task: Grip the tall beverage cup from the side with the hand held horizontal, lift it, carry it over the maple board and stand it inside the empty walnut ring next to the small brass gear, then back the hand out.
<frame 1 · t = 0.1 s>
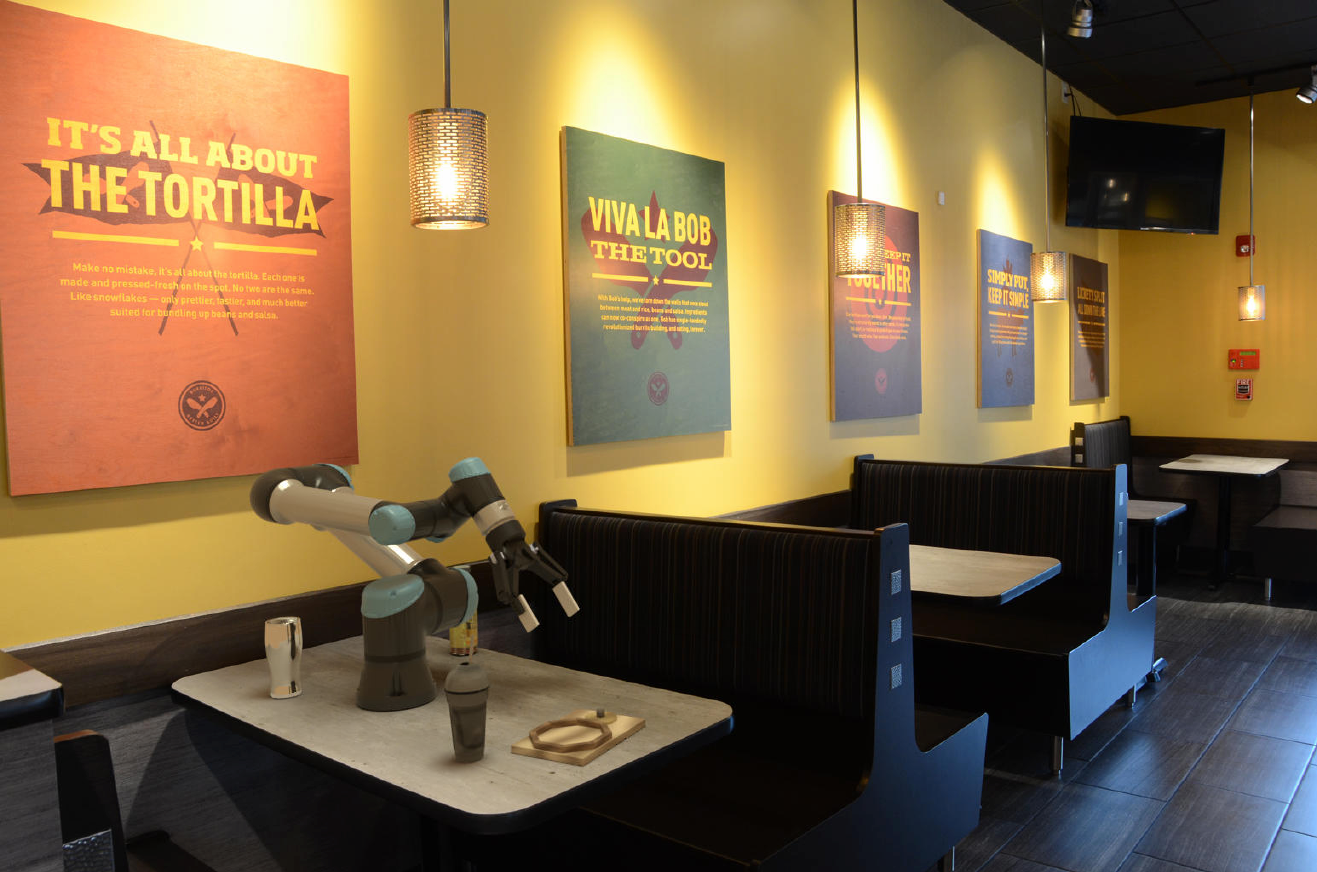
hand: (554, 620, 186), 15 cm above the table, tool tilted 35°, fingers open, 13 cm apart
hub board: (580, 738, 164), on the table
beer glass: (286, 695, 194), on the table
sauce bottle: (464, 653, 222), on the table
beverage cup: (469, 758, 157), on the table
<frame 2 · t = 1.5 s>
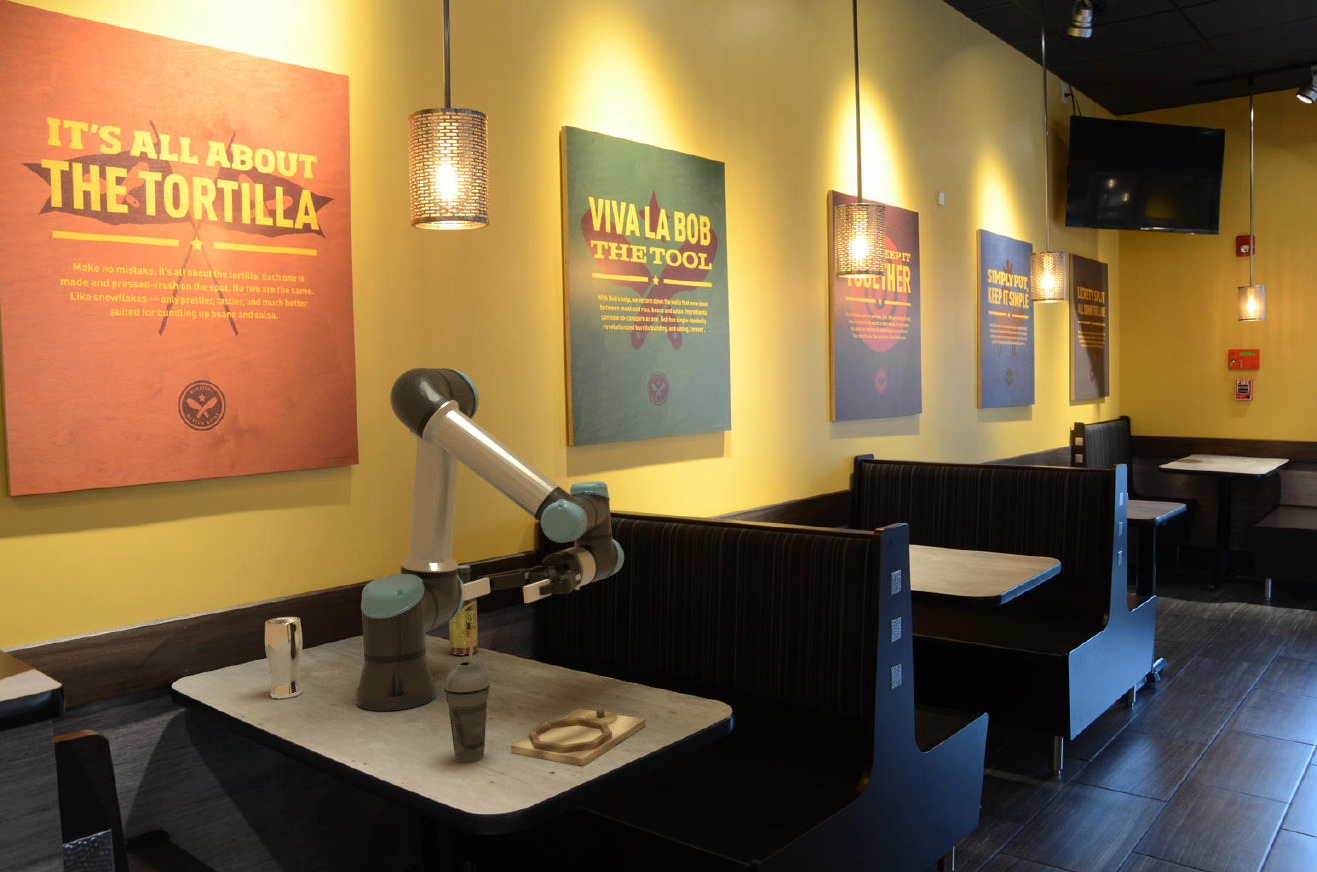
hand: (493, 593, 165), 25 cm above the table, tool horizontal, fingers open, 13 cm apart
nothing on the table moved.
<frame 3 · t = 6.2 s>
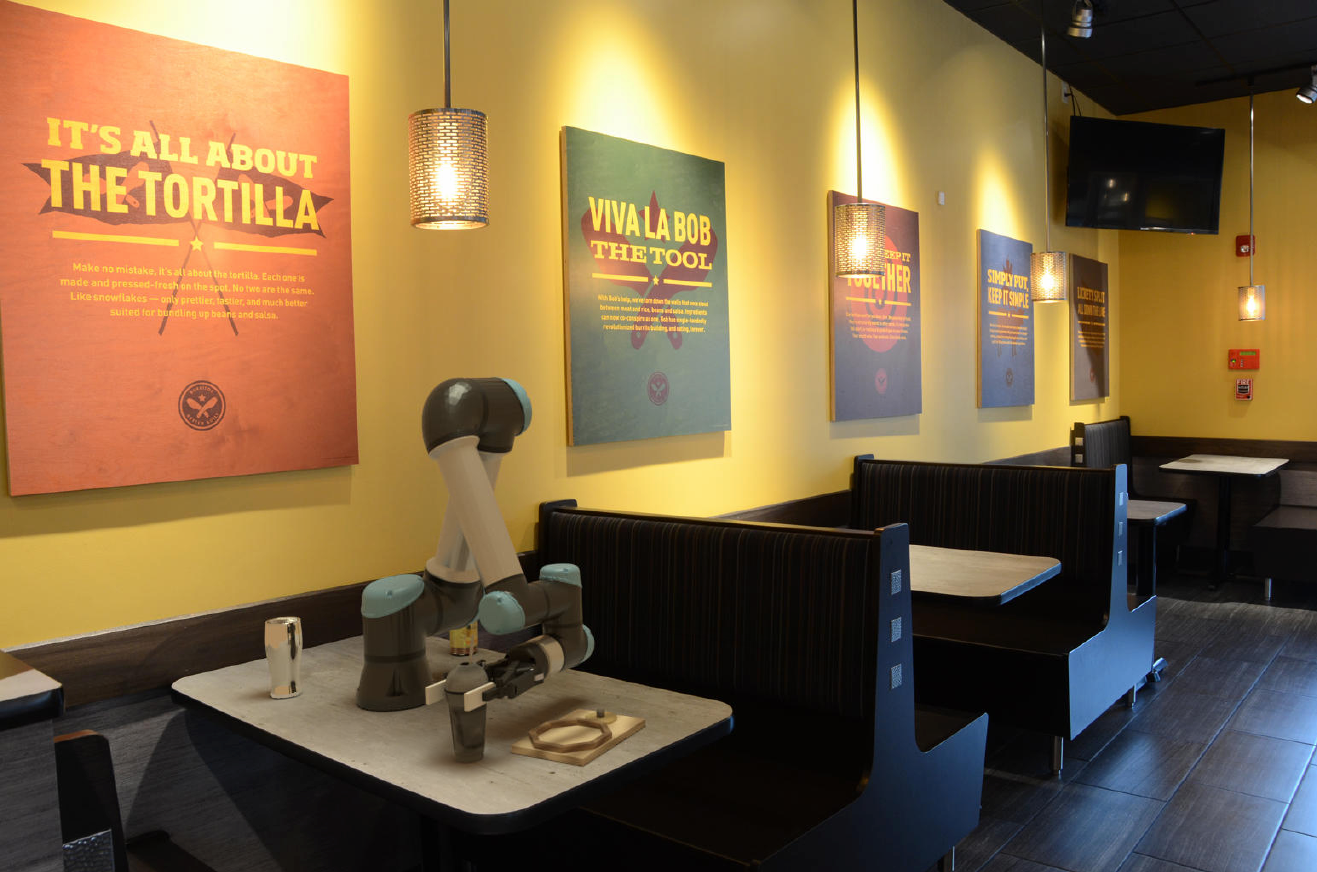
hand: (446, 699, 152), 11 cm above the table, tool horizontal, fingers closed on beverage cup, 7 cm apart
beverage cup: (469, 758, 157), on the table, touching gripper
everything else where it was.
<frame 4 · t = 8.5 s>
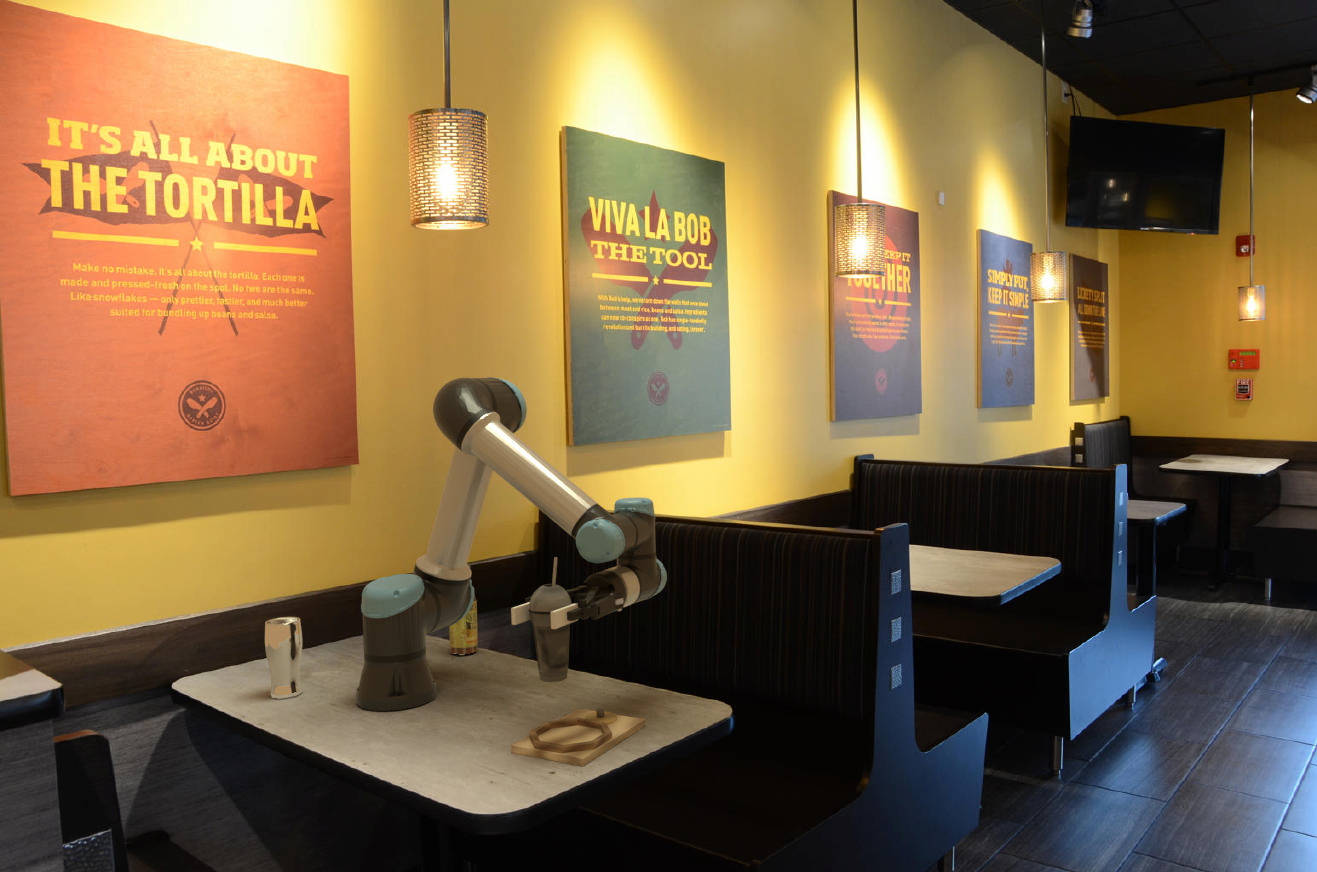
hand: (532, 618, 155), 23 cm above the table, tool horizontal, fingers closed on beverage cup, 7 cm apart
beverage cup: (553, 679, 160), point 12 cm above the table, touching gripper
everything else where it was.
when the fingers open (14 cm above the table, at t = 11.1 s): beverage cup drops 1 cm, resting on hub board.
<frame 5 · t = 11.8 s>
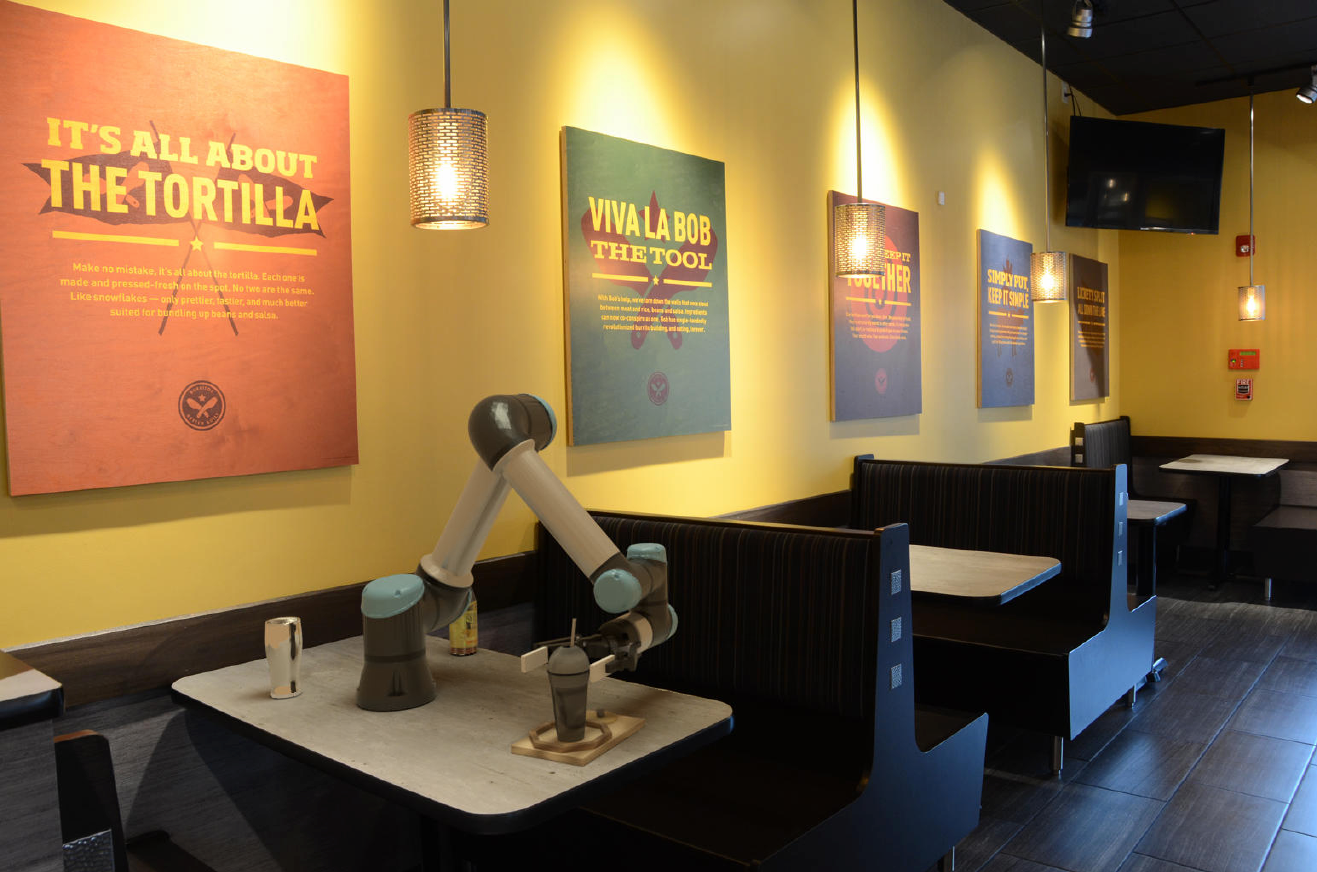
hand: (556, 668, 158), 14 cm above the table, tool horizontal, fingers open, 13 cm apart
beverage cup: (570, 738, 161), point 1 cm above the table, touching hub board
everything else where it was.
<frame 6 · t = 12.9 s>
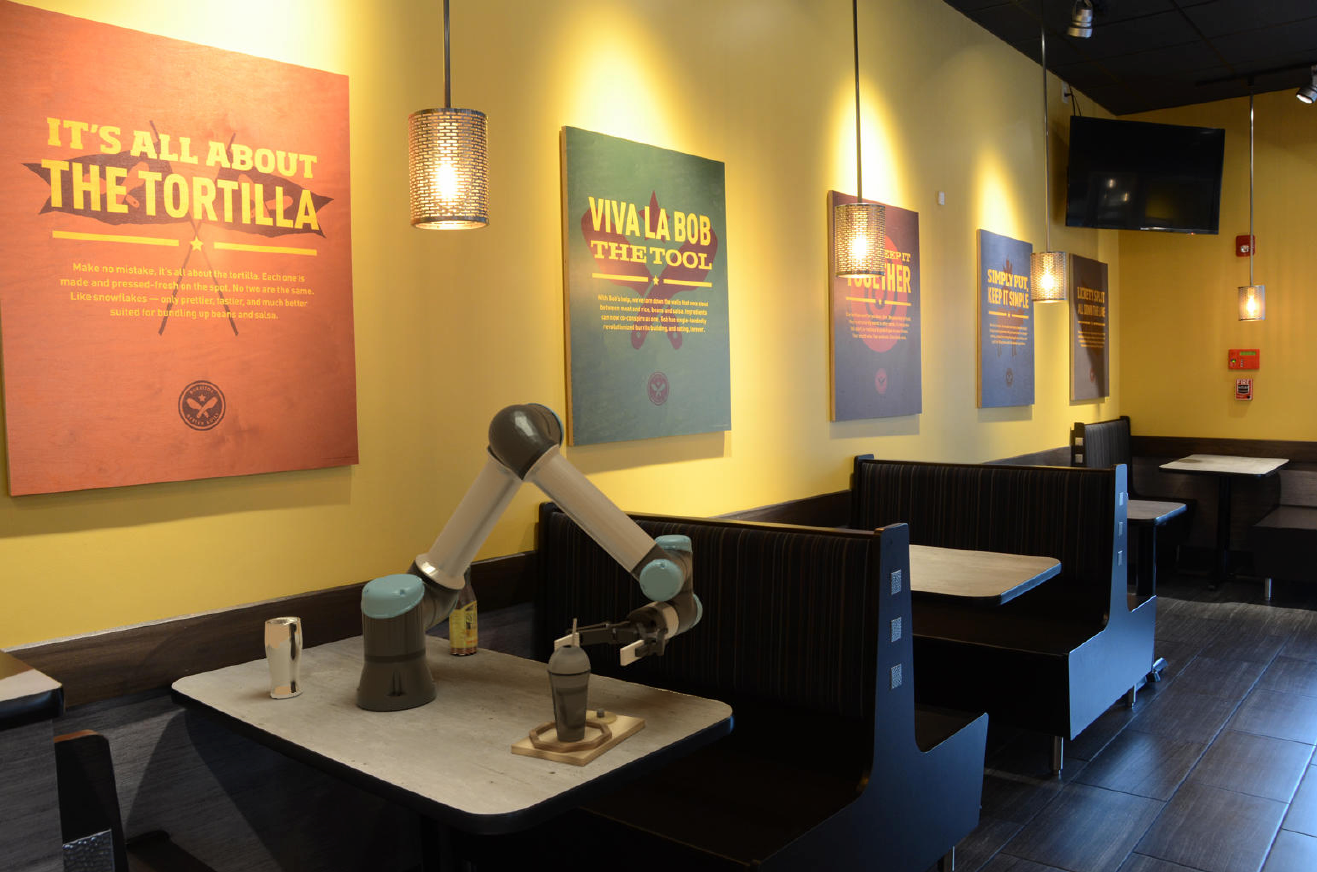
hand: (588, 653, 166), 14 cm above the table, tool horizontal, fingers open, 13 cm apart
nothing on the table moved.
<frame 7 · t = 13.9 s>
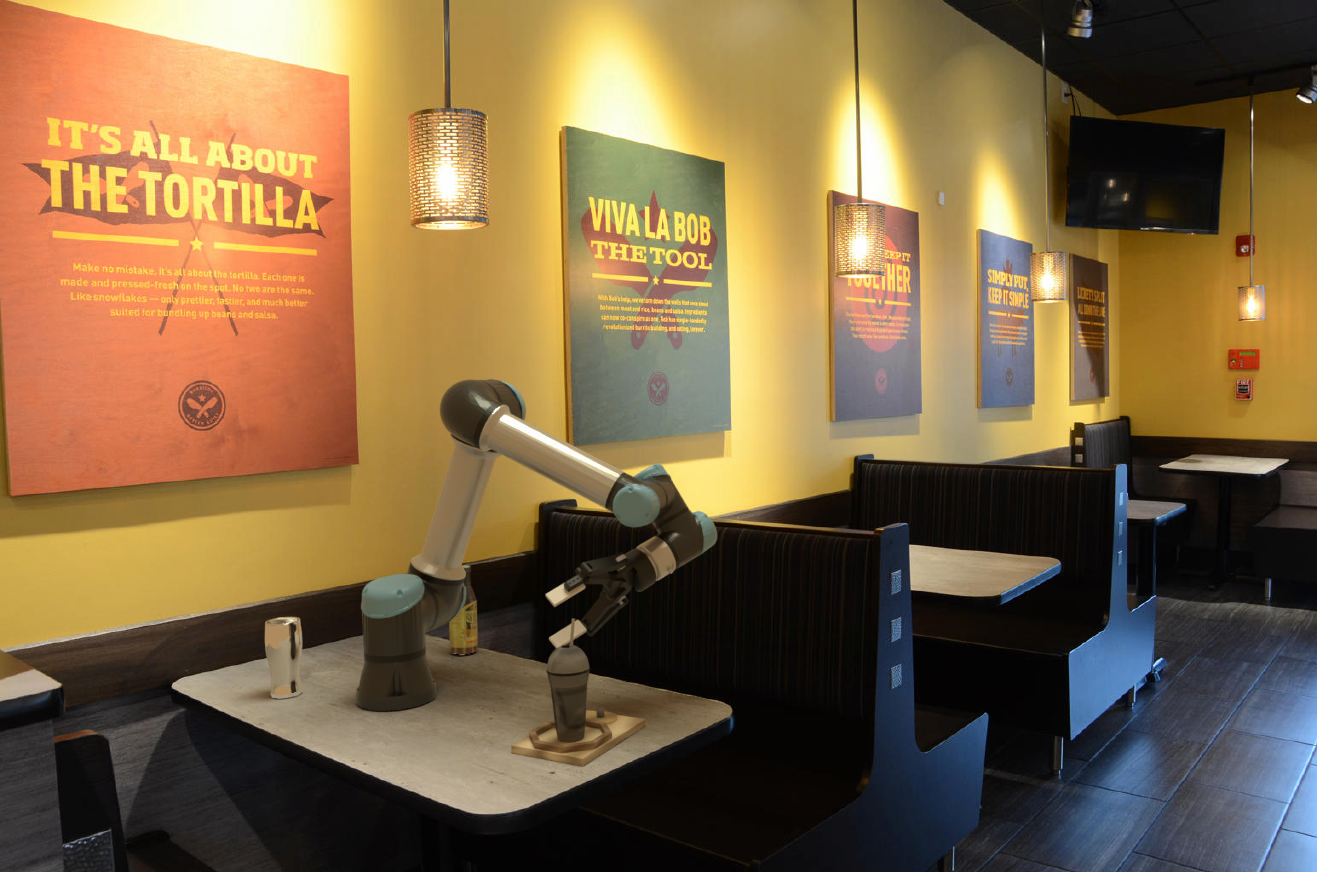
hand: (551, 622, 172), 18 cm above the table, tool tilted 70°, fingers open, 13 cm apart
nothing on the table moved.
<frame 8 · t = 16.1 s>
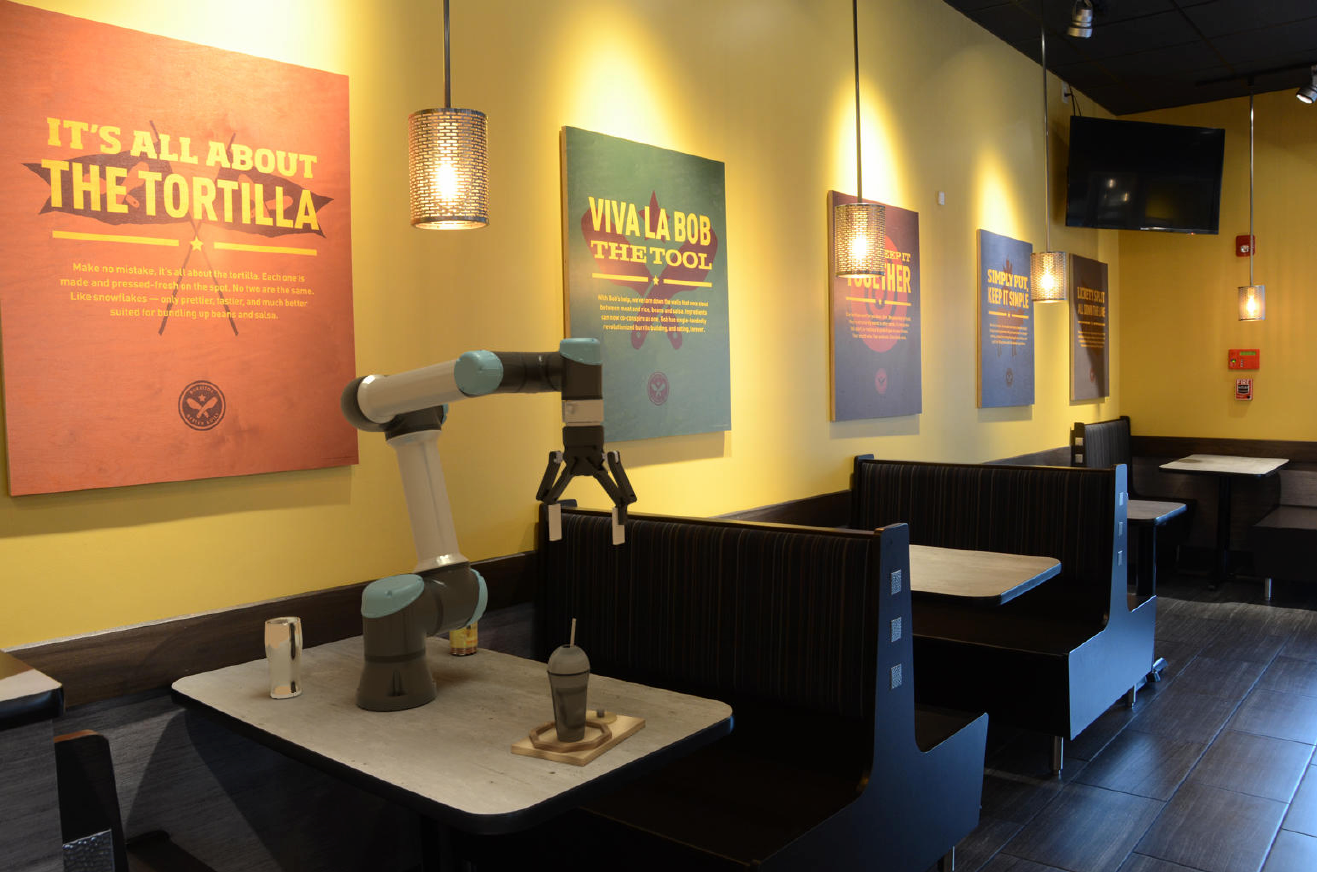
hand: (586, 541, 175), 32 cm above the table, tool pointing down, fingers open, 13 cm apart
nothing on the table moved.
at the end: beverage cup 0.1 cm from the target spot on the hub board, point 1.0 cm above the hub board's base; beverage cup tilted 0°; the gripper is holding nothing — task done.
